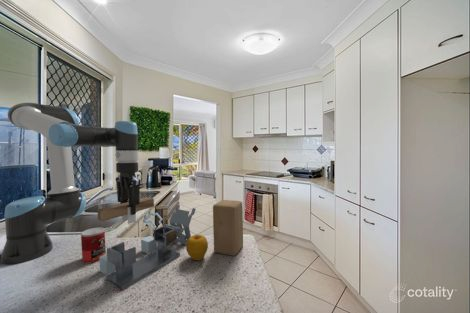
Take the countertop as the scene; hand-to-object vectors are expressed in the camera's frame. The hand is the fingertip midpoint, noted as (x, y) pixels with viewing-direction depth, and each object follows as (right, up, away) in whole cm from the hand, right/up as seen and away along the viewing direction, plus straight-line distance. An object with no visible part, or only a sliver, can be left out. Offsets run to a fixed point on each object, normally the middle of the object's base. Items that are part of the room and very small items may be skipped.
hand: (128, 221), depth 78 cm
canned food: (-15, -16, +2) cm, 22 cm away
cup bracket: (+9, -15, -5) cm, 18 cm away
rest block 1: (-4, -15, -6) cm, 17 cm away
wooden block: (+39, -14, +7) cm, 42 cm away
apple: (+27, -15, 0) cm, 31 cm away
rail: (0, +3, 0) cm, 4 cm away
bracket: (+15, -15, +16) cm, 26 cm away
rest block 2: (+5, -15, +7) cm, 17 cm away
